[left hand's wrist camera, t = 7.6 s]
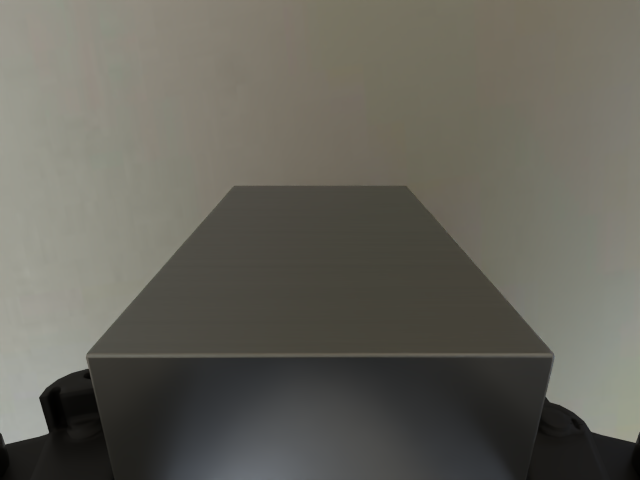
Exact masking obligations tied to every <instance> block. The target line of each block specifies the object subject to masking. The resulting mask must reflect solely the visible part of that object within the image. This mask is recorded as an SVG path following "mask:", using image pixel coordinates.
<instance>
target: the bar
mask: <svg viewBox="0 0 640 480" xmlns="http://www.w3.org/2000/svg"><path fill="white" fill-rule="evenodd" d="M86 359H87V363H88V367H89V372H90V376H91V380H92V385H93V389H94V393H95V397H96V402H97V406H98V410H99V415H100V419H101V423H102V428H103V432H104V436H105V440H106V445H107V449H108V453H109V458H110V462H111V466H112V471H113V475H114V479H115V480H526V477H527V473H528V469H529V464H530V460H531V456H532V451H533V447H534V443H535V439H536V434H537V430H538V426H539V421H540V417H541V413H542V409H543V404H544V400H545V396H546V392H547V387H548V383H549V379H550V374H551V370H552V366H553V362H554V353H553V352H552V351H551V350H550V349H549V348H548V347H547V345H546V344H545V343H544V342H543V341H542V340H541V339H540V337H539V336H538V335H537V334H536V333H535V332H534V331H533V329H532V328H531V327H530V326H529V325H528V324H527V323H526V322H525V320H524V319H523V318H522V317H521V316H520V315H519V314H518V312H517V311H516V310H515V309H514V308H513V307H512V306H511V304H510V303H509V302H508V301H507V300H506V299H505V298H504V297H503V295H502V294H501V293H500V292H499V291H498V290H497V289H496V287H495V286H494V285H493V284H492V283H491V282H490V281H489V280H488V278H487V277H486V276H485V275H484V274H483V273H482V272H481V270H480V269H479V268H478V267H477V266H476V265H475V264H474V262H473V261H472V260H471V259H470V258H469V257H468V256H467V255H466V253H465V252H464V251H463V250H462V249H461V248H460V247H459V245H458V244H457V243H456V242H455V241H454V240H453V239H452V237H451V236H450V235H449V234H448V233H447V232H446V231H445V230H444V228H443V227H442V226H441V225H440V224H439V223H438V222H437V220H436V219H435V218H434V217H433V216H432V215H431V214H430V212H429V211H428V210H427V209H426V208H425V207H424V206H423V205H422V203H421V202H420V201H419V200H418V199H417V198H416V197H415V195H414V194H413V193H412V192H411V191H410V190H409V189H408V187H407V186H234V187H233V188H232V189H231V190H230V191H229V192H228V193H227V195H226V196H225V197H224V198H223V199H222V200H221V201H220V203H219V204H218V205H217V206H216V207H215V208H214V209H213V211H212V212H211V213H210V214H209V215H208V216H207V217H206V219H205V220H204V221H203V222H202V223H201V224H200V225H199V226H198V228H197V229H196V230H195V231H194V232H193V233H192V234H191V236H190V237H189V238H188V239H187V240H186V241H185V242H184V244H183V245H182V246H181V247H180V248H179V249H178V250H177V252H176V253H175V254H174V255H173V256H172V257H171V258H170V260H169V261H168V262H167V263H166V264H165V265H164V266H163V267H162V269H161V270H160V271H159V272H158V273H157V274H156V275H155V277H154V278H153V279H152V280H151V281H150V282H149V283H148V285H147V286H146V287H145V288H144V289H143V290H142V291H141V293H140V294H139V295H138V296H137V297H136V298H135V299H134V300H133V302H132V303H131V304H130V305H129V306H128V307H127V308H126V310H125V311H124V312H123V313H122V314H121V315H120V316H119V318H118V319H117V320H116V321H115V322H114V323H113V324H112V326H111V327H110V328H109V329H108V330H107V331H106V332H105V333H104V335H103V336H102V337H101V338H100V339H99V340H98V341H97V343H96V344H95V345H94V346H93V347H92V348H91V349H90V351H89V352H88V353H87V356H86Z"/></svg>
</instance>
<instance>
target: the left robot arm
mask: <svg viewBox="0 0 640 480" xmlns="http://www.w3.org/2000/svg"><path fill="white" fill-rule="evenodd" d="M39 399H40V402H41V406H42V409H43V413H44V416H45V419H46V423H47V426H48V430H49V434H47V435H43V436H40V437H36V438H32V439H27V440H23V441H19V442H15V443H10V444H6V445H5V443H4V440H3V437H2V434H1V433H0V480H115V479H114V475H113V471H112V466H111V462H110V458H109V453H108V449H107V445H106V440H105V436H104V432H103V428H102V423H101V419H100V415H99V410H98V406H97V402H96V397H95V393H94V389H93V385H92V380H91V376H90V372H89V369H85V370H82V371H78V372H74V373H71V374H69V375H67V376H65V377H62V378H60V379H58V380H57V381H55V382H54V383H53V384H51V385H50V386H49V387H47V388H46V389H45V391H44V392H43V393H42V394H41V396H40V397H39ZM526 480H640V433H639V435H638V438H637V441H636V443H633V442H629V441H625V440H620V439H616V438H612V437H607V436H603V435H600V434H596V433H593V432H591V431H590V430H589V428H588V427H587V425H586V424H585V422H584V421H583V420H582V419H580V418H579V417H578V416H577V415H576V414H575V413H573V412H571V411H570V410H568V409H566V408H564V407H562V406H560V405H557V404H554V403H550V402H549V401H548V399H547V398H546V397H545V400H544V404H543V409H542V413H541V417H540V421H539V426H538V430H537V434H536V439H535V443H534V447H533V451H532V456H531V460H530V464H529V469H528V473H527V477H526Z"/></svg>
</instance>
